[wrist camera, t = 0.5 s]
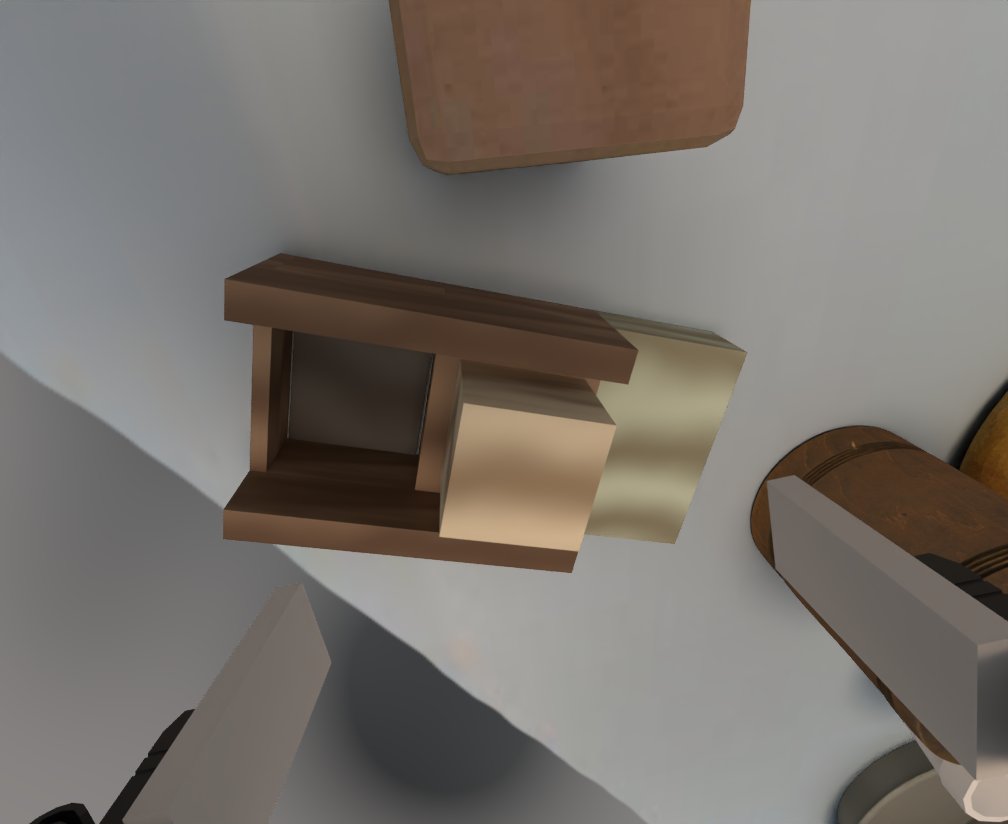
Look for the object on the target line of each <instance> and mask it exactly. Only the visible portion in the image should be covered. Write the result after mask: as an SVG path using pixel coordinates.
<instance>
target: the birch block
mask: <svg viewBox="0 0 1008 824" xmlns="http://www.w3.org/2000/svg"><path fill="white" fill-rule="evenodd" d="M616 426H617V425H616V424H615V422H614V421H613V419H612V418H611V416H610V415H609V413H608V412H607V411H606V409H605V408H604V406H603V405H602V403H601V402H600V400H599V399H598V397H597V396H596V395H595V393H594V392H593V390H592V389H591V387H590V386H589V384H588V383H587V381H586V380H585V379H579V378H572V377H566V376H560V375H554V374H547V373H541V372H535V371H529V370H522V369H516V368H510V367H503V366H497V365H491V364H485V363H478V362H472V361H466V360H460V365H459V370H458V376H457V382H456V388H455V393H454V399H453V405H452V410H451V416H450V422H449V428H448V433H447V439H446V445H445V450H444V456H443V462H442V468H441V474H440V527H439V537H445V538H455V539H464V540H474V541H484V542H493V543H503V544H512V545H522V546H531V547H541V548H550V549H560V550H570V551H579V549H580V546H581V542H582V539H583V536H584V532H585V529H586V526H587V523H588V519H589V516H590V513H591V509H592V506H593V503H594V499H595V496H596V493H597V489H598V486H599V483H600V479H601V476H602V473H603V470H604V466H605V463H606V460H607V456H608V453H609V450H610V446H611V443H612V440H613V436H614V433H615V430H616Z"/></svg>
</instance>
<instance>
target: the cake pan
mask: <svg viewBox="0 0 1008 824" xmlns="http://www.w3.org/2000/svg"><path fill="white" fill-rule="evenodd" d="M837 819H838V824H1008V820H1005V821H1001V822H990V821H978V820H976V819H975V818H973V817H972V816H970V815H968V814H967V813H965V811H964V810H963V809H962V808H961V807H960V805H959V804H958V803H957V802H956V800H955V799H954V798H953V797H952V796H951V794H950V793H949V792H948V791H947V789H946V788H945V787H944V786H943V785H942V782H941V778H940V776H939V774H938V773H937V771H936V770H935V768H934V767H933V765H932V764H931V762H930V761H929V759H928V758H927V756H926V755H925V753H924V752H923V750H922V749H921V747H920V746H919V744H918V743H917V741H913V742H911V743H908V744H906V745H904V746H901V747H899V748H897V749H895V750H893V751H891V752H889V753H888V754H886V755H884V756H883V757H881V758H880V759H878V760H877V761H875V762H874V763H872V764H871V765H870V766H869V767H867V768H866V769H865V770H864V771H863V772H861V773H860V774H859V775H858V776H857V777H856V778H855V780H854V781H853V782H852V783H851V784H850V785H849V787H848V788H847V790H846V791H845V793H844V794H843V796H842V798H841V801H840V803H839V807H838V812H837Z"/></svg>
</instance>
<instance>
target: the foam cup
mask: <svg viewBox="0 0 1008 824" xmlns="http://www.w3.org/2000/svg"><path fill="white" fill-rule="evenodd" d="M903 722H904V721H903ZM905 725H906V724H905ZM906 726H907V725H906ZM907 728H908V729H909V731H910V732H911V734H912V735H913V737H914V738H915V740H916V741H917V743H918V744H919V746H920V747H921V749H922V750H923V752H924V753H925V755H926V756H927V758H928V759H929V761H930V762H931V764H932V765H933V767H934V768H935V770H936V771H937V773H938V774H939V776H940V778H941V782H942V785H943V786H944V787H945V788H946V789H947V791H948V792H949V793H950V794H951V796H952V797H953V798H954V799H955V800H956V802H957V803H958V804H959V805H960V807H961V808H962V809H963V810H964V811H965V813H967V814H968V815H970V816H972V817H973V818H975V819H976V820H978V821H990V822H1001V821H1005V820H1008V775H1005V776H1000V777H995V778H990V779H984V780H979V781H976V780H975V779H974V778H973V777H972V776H971V775H970V774H969V773H968V772H967V771H966V770H965V769H964V767H963V766H962V765H957V764H954V763H951V762H948V761H946V760H944V759H941V758H940V757H938V756H936V755H935V754H934V753H932V752H931V751H930V750H929V749H928V748H927V747H926V746H925V745H924V744H923V743H922V742H921V741H920V740H919V738H918V737H917V736H916V735H915V734H914V733H913V732H912V731H911V730H910V728H909V727H908V726H907Z"/></svg>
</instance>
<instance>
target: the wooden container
mask: <svg viewBox="0 0 1008 824" xmlns="http://www.w3.org/2000/svg"><path fill="white" fill-rule="evenodd" d="M792 475H795V476H797V477H798V478H800V479H801V480H802V481H804V482H805V483H807V484H808V485H810V486H811V487H813V488H814V489H816V490H817V491H819V492H820V493H821V494H823V495H824V496H826V497H827V498H829V499H830V500H832V501H833V502H835V503H836V504H837V505H839V506H840V507H842V508H843V509H845V510H846V511H848V512H849V513H851V514H852V515H853V516H855V517H856V518H858V519H859V520H861V521H862V522H864V523H865V524H867V525H868V526H869V527H871V528H872V529H874V530H875V531H877V532H878V533H880V534H881V535H883V536H884V537H885V538H887V539H888V540H890V541H891V542H893V543H894V544H896V545H897V546H899V547H900V548H902V549H903V550H904V551H906V552H907V553H909V554H910V555H912V556H916V555H921V554H926V553H932V554H935V555H938V556H940V557H943V558H946V559H949V560H951V561H954V562H957V563H960V564H961V565H963V566H964V567H966V568H967V569H969V570H971V571H972V572H974V573H975V574H977V575H978V576H980V577H982V578H983V581H984V582H985V581H988V582H990V583H991V584H993V585H994V586H996V587H997V588H999V589H1001V590H1002V592H1003V594H1008V500H1007V499H1005V498H1004V497H1002V496H1000V495H999V494H997V493H996V492H994V491H992V490H991V489H989V488H988V487H986V486H984V485H983V484H981V483H979V482H978V481H976V480H974V479H973V478H971V477H969V476H968V475H966V474H964V473H963V472H961V471H959V470H957V469H956V468H954V467H952V466H951V465H949V464H947V463H945V462H944V461H942V460H940V459H938V458H937V457H935V456H933V455H931V454H929V453H927V452H925V451H924V450H922V449H920V448H918V447H917V446H915V445H913V444H912V443H910V442H908V441H906V440H904V439H903V438H901V437H899V436H897V435H895V434H893V433H891V432H889V431H887V430H884V429H880V428H875V427H867V426H864V427H863V426H856V427H847V428H842V429H838V430H833V431H830V432H827V433H824V434H822V435H819V436H817V437H815V438H813V439H811V440H809V441H808V442H806V443H804V444H803V445H801V446H799V447H798V448H796V449H795V450H794V451H792V452H791V453H790V454H789V455H788V456H786V457H785V458H784V459H783V460H782V461H781V462H780V463H779V464H778V465H777V466H776V467H775V468H774V469H773V471H772V472H771V473H770V474H769V475H768V477H767V478H766V479H765V481H764V483H763V484H762V486H761V488H760V490H759V492H758V495H757V497H756V500H755V503H754V506H753V510H752V515H751V531H752V536H753V539H754V541H755V544H756V546H757V548H758V549H759V551H760V552H761V554H762V555H763V556H764V557H765V559H766V560H767V561H768V562H769V564H770V565H771V566H772V567H773V568H774V569H775V571H776V572H777V573H778V574H779V576H780V577H781V578H782V579H783V580H784V581H785V583H786V584H787V585H788V587H789V588H790V589H791V590H792V592H793V593H794V594H795V595H796V597H797V598H798V599H799V600H800V601H801V602H802V604H803V605H804V606H805V607H806V608H807V609H808V610H809V611H810V613H811V614H812V615H813V616H814V617H815V618H816V619H817V620H818V621H819V623H820V624H821V625H822V626H823V627H824V628H825V629H826V630H827V631H828V632H829V634H830V635H831V636H832V637H833V638H834V639H835V640H836V641H837V642H838V643H839V645H840V646H841V647H842V648H843V649H844V650H845V651H846V653H847V654H848V655H849V656H850V657H851V658H852V659H853V661H854V662H855V663H856V664H857V665H858V666H859V667H860V669H861V670H862V671H863V672H864V673H865V674H866V676H867V677H868V678H869V679H870V680H871V681H872V682H873V684H874V685H875V686H876V687H877V688H878V689H879V690H880V691H881V693H882V694H883V695H884V696H885V698H886V699H887V701H888V702H889V704H890V705H891V706H892V708H893V709H894V710H895V712H896V713H897V714H898V715H899V716H900V718H901V719H902V720H903V721H904V723H905V724H906V725H907V726H908V727H909V728H910V730H911V731H912V732H913V733H914V734H915V735H916V736H917V737H918V738H919V740H920V741H921V742H922V743H923V744H924V745H925V746H926V747H927V748H928V749H929V750H930V751H931V752H932V753H934V754H935V755H936V756H938V757H940V758H941V759H944V760H946V761H948V762H951V763H954V764H957V765H961V764H960V763H959V762H958V761H957V760H956V759H955V758H954V757H953V756H952V755H951V754H950V753H949V752H948V751H947V749H946V748H945V747H944V746H943V745H942V744H941V743H940V742H939V741H938V740H937V739H936V738H935V737H934V736H933V735H932V734H931V733H930V731H929V730H928V729H927V728H926V727H925V726H924V725H923V724H922V723H921V722H920V721H919V720H918V719H917V718H916V717H915V716H914V715H913V714H912V712H911V711H910V710H909V709H908V708H907V707H906V706H905V705H904V704H903V703H902V702H901V701H900V700H899V699H898V698H897V697H896V696H895V694H894V693H893V692H892V691H891V690H890V689H889V688H888V687H887V686H886V685H885V684H884V683H883V682H882V681H881V680H880V679H879V678H878V676H877V675H876V674H875V673H874V672H873V671H872V670H871V669H870V668H869V667H868V666H867V665H866V664H865V663H864V662H863V661H862V660H861V659H860V657H859V656H858V655H857V654H856V653H855V652H854V651H853V650H852V649H851V648H850V647H849V646H848V645H847V644H846V643H845V642H844V641H843V639H842V638H841V637H840V636H839V635H838V634H837V633H836V632H835V631H834V630H833V629H832V628H831V627H830V626H829V625H828V624H827V623H826V621H825V620H824V619H823V618H822V617H821V616H820V615H819V614H818V613H817V612H816V611H815V610H814V609H813V608H812V607H811V606H810V605H809V604H808V602H807V601H806V600H805V599H804V598H803V597H802V596H801V595H800V594H799V593H798V592H797V591H796V590H795V589H794V588H793V587H792V586H791V584H790V583H789V582H788V581H787V580H786V579H785V578H784V577H783V576H782V575H781V574H780V573H779V572H778V571H777V570H776V568H775V558H774V548H773V538H772V529H771V519H770V509H769V499H768V490H767V481H769V480H774V479H778V478H783V477H788V476H792Z"/></svg>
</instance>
